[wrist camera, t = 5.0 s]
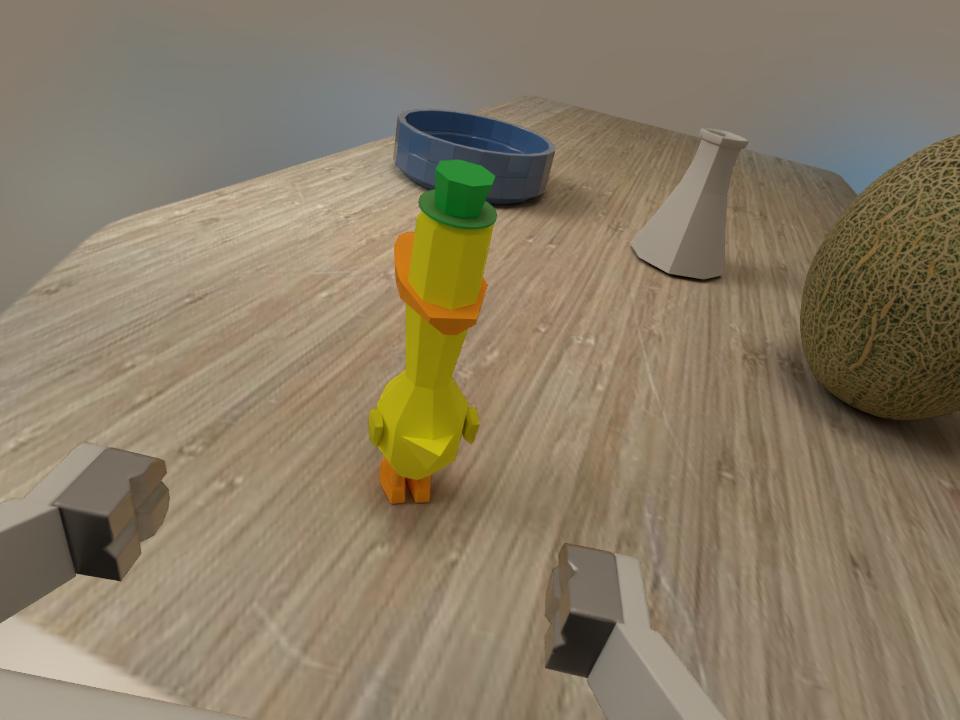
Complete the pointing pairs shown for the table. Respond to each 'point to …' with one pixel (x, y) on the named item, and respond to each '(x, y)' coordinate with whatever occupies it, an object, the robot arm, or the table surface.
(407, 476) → the toy figure
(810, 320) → the fruit
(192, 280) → the table surface
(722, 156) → the flask
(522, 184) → the bowl
